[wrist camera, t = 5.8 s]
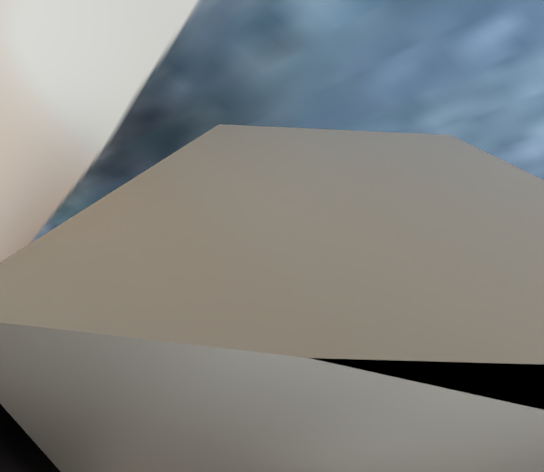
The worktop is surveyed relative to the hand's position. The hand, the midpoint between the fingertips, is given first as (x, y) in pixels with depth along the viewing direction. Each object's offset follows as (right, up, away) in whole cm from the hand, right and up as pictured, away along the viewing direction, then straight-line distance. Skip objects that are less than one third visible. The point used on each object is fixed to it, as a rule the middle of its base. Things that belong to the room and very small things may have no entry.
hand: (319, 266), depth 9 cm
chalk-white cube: (0, +1, +2) cm, 2 cm away
